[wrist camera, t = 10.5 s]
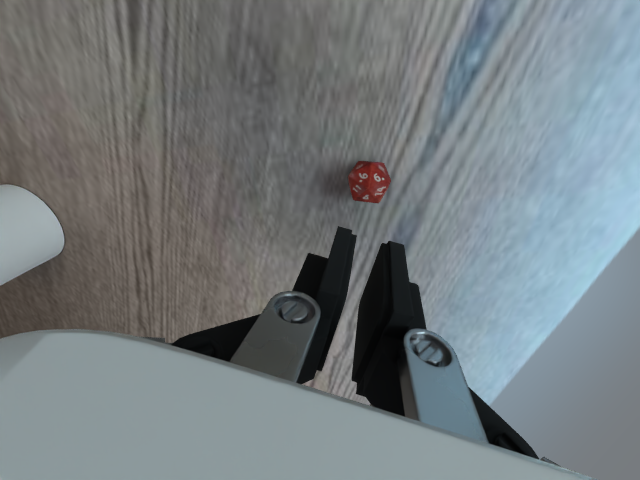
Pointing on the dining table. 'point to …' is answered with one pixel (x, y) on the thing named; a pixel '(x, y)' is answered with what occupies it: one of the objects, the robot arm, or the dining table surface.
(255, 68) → the dining table surface
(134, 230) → the dining table surface
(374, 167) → the die
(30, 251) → the cup
